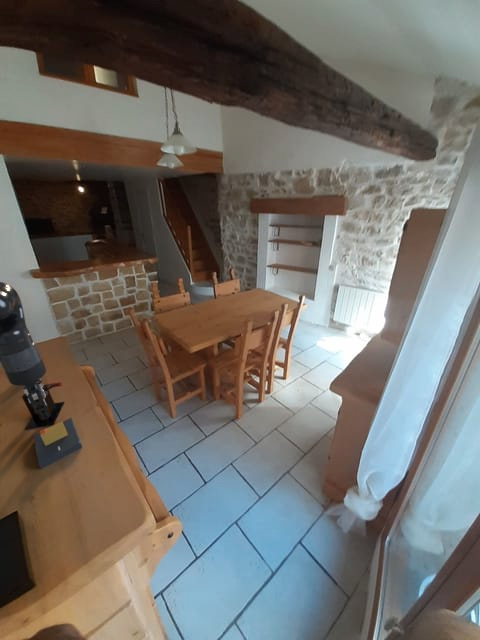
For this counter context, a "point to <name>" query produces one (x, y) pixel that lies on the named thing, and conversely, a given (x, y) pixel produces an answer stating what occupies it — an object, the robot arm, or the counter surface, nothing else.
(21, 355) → the robot arm
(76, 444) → the lock plate
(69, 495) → the counter surface
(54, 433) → the yellow flat block
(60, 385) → the latch lever
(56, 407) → the latch bracket
